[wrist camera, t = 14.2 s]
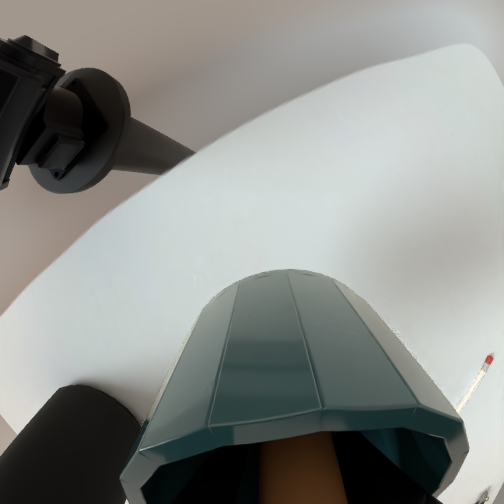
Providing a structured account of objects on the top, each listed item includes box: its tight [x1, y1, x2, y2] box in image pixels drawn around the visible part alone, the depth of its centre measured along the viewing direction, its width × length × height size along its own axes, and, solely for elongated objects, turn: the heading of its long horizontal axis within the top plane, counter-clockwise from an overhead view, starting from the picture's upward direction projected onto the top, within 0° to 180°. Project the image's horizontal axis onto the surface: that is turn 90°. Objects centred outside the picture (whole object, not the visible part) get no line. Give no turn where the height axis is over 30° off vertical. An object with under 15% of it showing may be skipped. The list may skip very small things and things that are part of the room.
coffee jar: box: [0, 385, 141, 504], centre depth 13 cm, size 11×11×18 cm
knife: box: [476, 492, 489, 504], centre depth 28 cm, size 19×2×5 cm
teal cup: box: [119, 269, 469, 504], centre depth 7 cm, size 8×8×7 cm
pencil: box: [455, 356, 493, 414], centre depth 21 cm, size 1×19×1 cm, turn 164°
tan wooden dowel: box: [259, 431, 348, 504], centre depth 6 cm, size 2×2×8 cm
